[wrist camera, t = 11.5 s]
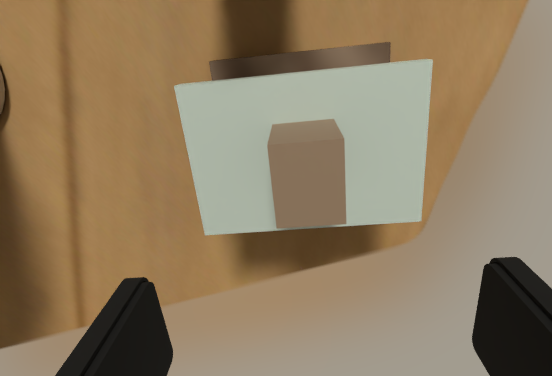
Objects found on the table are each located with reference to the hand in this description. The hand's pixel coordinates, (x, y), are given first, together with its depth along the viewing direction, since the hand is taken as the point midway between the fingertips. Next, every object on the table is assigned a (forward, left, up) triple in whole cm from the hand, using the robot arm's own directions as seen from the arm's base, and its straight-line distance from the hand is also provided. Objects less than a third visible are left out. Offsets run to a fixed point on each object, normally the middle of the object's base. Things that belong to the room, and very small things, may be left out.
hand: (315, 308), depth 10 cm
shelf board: (0, 0, -16) cm, 16 cm away
